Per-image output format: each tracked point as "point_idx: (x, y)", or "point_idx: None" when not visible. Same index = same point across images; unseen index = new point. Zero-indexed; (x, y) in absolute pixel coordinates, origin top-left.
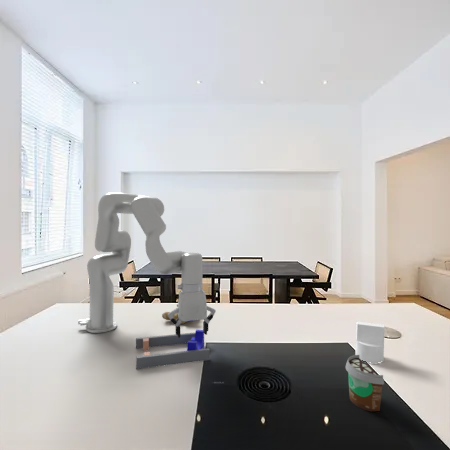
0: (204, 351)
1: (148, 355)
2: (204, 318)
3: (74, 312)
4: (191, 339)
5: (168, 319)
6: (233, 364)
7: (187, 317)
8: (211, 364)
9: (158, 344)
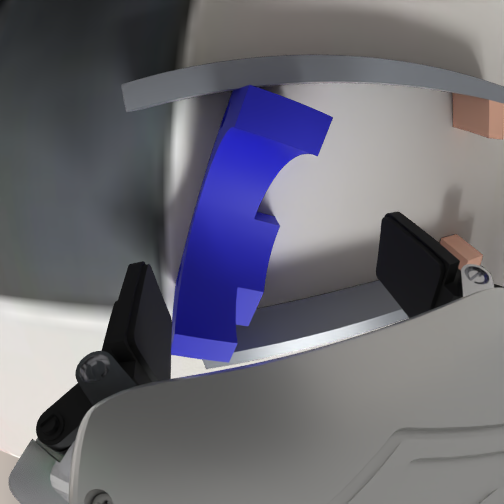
0: (166, 73)
1: (494, 97)
2: (114, 395)
3: None
4: (258, 296)
5: None
6: (20, 54)
7: (483, 342)
8: (134, 33)
9: None
